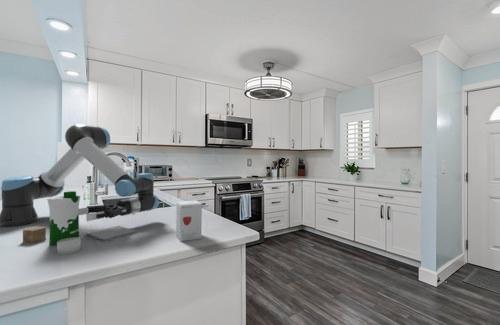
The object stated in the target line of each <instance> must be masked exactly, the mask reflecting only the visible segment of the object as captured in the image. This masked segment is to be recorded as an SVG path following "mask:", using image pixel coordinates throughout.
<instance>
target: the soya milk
mask: <svg viewBox="0 0 500 325" xmlns="http://www.w3.org/2000/svg"><path fill="white" fill-rule="evenodd" d="M46 200H47V204H48V209H49V210H48V211H49V238H48V239H49V243H48V244H49V246H57V242H58V241H59V240H62V239H66V238H72V237H79V238H80V221H79V220H80V215H79V209H80V208H79V207H80V200H81V195H77V191H76V190H75V191H74V190H73V191H65V192H63V195H60V196H53V197H49V198H47V199H46Z"/></svg>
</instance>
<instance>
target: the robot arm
mask: <svg viewBox="0 0 500 325" xmlns="http://www.w3.org/2000/svg"><path fill="white" fill-rule="evenodd" d="M64 140H65V142H66V144H67V145H68V146H69V149H68V150H67V151H66V153H65V154H63V156H61V158H60V159H59V160H58V161H57V162H56V163H55V164H54V165H53V166H52V167H50V168H49V170H44V171H43V172H42V173H41V174H40V175H39V176H37V177H33V175H19V176H12V177H8V178H7V177H6V178H5V179H3V180H2V181H1V187H0V189H1V211H0V227H15V226H16V227H17V226H23V225H28V224H29V225H30V224H32V223H36V222H38V220H39V216H38V213H37V211H36V208H35V207H34V200H38V199H39V200H40V199H44V198H45V199H46V198H54V197H57V196H58V195H60V194H62V192H63V191H64V188H65V187H64V186H65V180H66V178H68V177H69V175H70V174H72V173H73V172H74V171H75V169H77V167H79V165H81V164H82V163H83V161H85V160H87V161H88V163H90V164H91V165H93V167H94V168H95V169H97V170H98V172H99V173H101V174H102V175H103V176H104V177H105V178H106V179H107V180H108V181H109V182H111V184H112V185H114V191H115V193H116V195H118V196H119V197H130V198H125V199H120V200H118V201H117V203H116V204H113V203H109V204H102V205H101V204H99V205H90V206H89V205H87V206H86V207H82V208H81V207H80V208H79V216H81V215H83V216H84V215H85V216H86V217H85V218H86V219H85V220H86V222H90V221H91V222H92V221H95V220H100V219H108V218H109V219H112V218H115V217H118V216H120V217H122V216H123V217H124V216H128V215H135V214H137V213H143V212H149V211H152V210H155V209H157V208H158V207H159V205H160V200H159V198H158V196H157V195H154V188H155V187H154V186H155V185H154V182H155V180H154V174H153V173H149V172H146V173H145V172H144V173H143V172H141V173H138V174H137V178H133V177H132V176H130V174H128V173H127V172H126V171H125V170H124V169H123V168H122V167H121V166H120V165H118V163H116V162H115V161H114V160H113V159H112V158H111V157H110V156H109V155H108V154H107V153H106V152H104V151H103V149H107V148H108V147H109V145H110V143H111V136H110V133H109V131H108V130H107V129H106V128H104V127H101V126H97V125H96V126H95V125H94V126H93V125H89V124H88V125H87V124H82V123H81V124H80V123H77V124H73V125H71V126H70V127H68V128H67V129H66V131H65V134H64ZM134 195H137V197H132V198H131V196H134Z"/></svg>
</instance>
